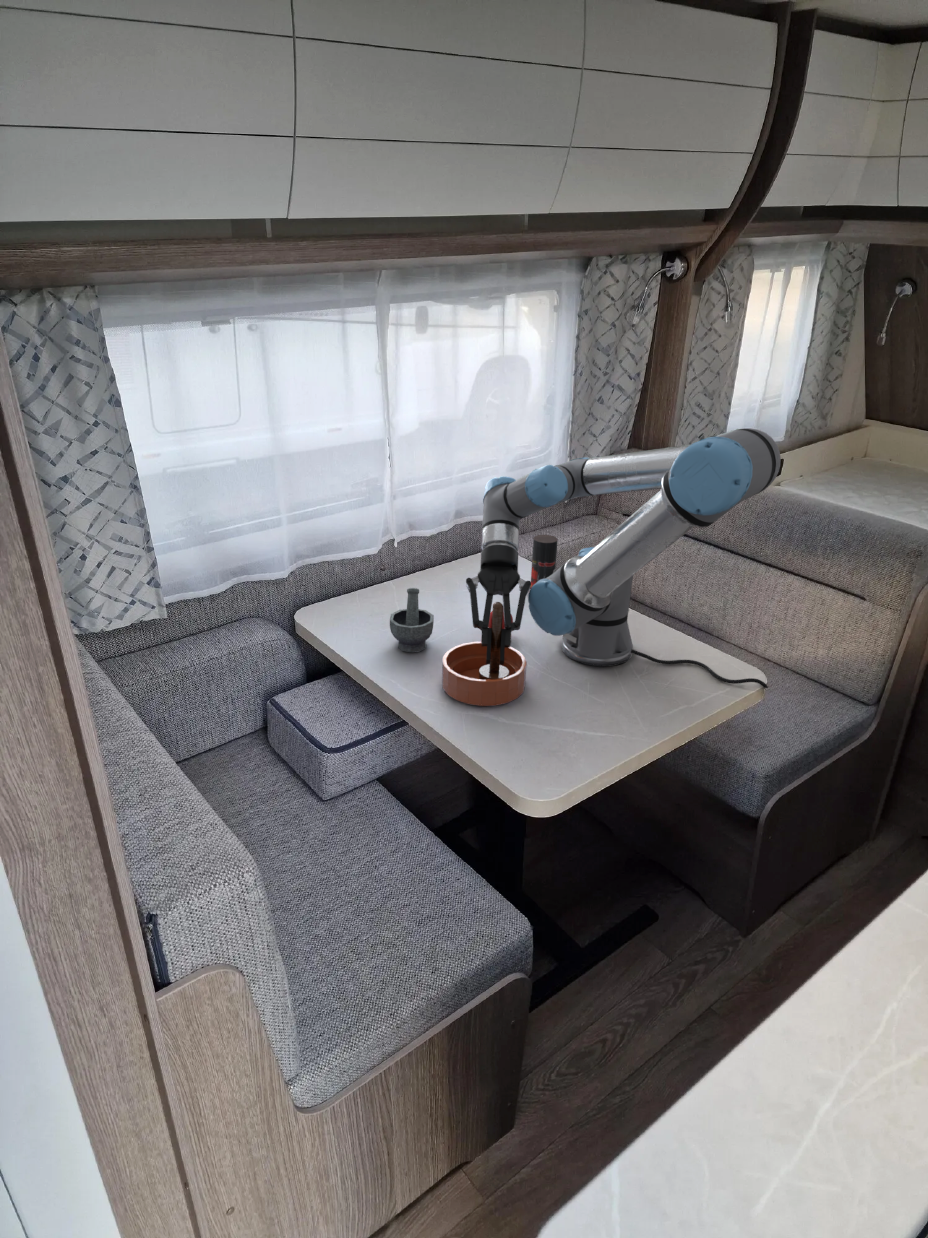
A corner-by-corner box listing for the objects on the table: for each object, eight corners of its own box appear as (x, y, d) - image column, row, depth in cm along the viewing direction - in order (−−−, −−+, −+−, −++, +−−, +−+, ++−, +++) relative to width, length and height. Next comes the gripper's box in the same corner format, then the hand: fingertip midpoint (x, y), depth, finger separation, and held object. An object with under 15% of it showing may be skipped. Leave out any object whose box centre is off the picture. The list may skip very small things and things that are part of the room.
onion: (491, 629, 188) (492, 597, 185) (515, 633, 187) (517, 601, 183) (483, 639, 183) (484, 607, 180) (508, 644, 182) (509, 611, 178)
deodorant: (553, 599, 204) (558, 543, 198) (529, 598, 204) (533, 542, 198) (553, 590, 209) (557, 535, 203) (529, 589, 210) (533, 534, 203)
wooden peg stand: (510, 674, 165) (516, 598, 158) (506, 689, 160) (511, 610, 153) (481, 670, 166) (485, 594, 159) (476, 685, 161) (479, 606, 154)
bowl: (530, 672, 170) (532, 647, 168) (517, 713, 156) (518, 686, 153) (453, 662, 174) (453, 637, 171) (433, 702, 159) (433, 675, 156)
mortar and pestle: (432, 656, 176) (432, 606, 170) (388, 655, 175) (387, 605, 170) (434, 633, 186) (434, 585, 181) (393, 632, 186) (392, 584, 180)
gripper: (535, 560, 168) (532, 670, 160) (462, 556, 168) (456, 666, 161) (538, 544, 161) (535, 658, 153) (462, 541, 161) (455, 654, 153)
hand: (495, 662), depth 157 cm, fingers closed on wooden peg stand, 2 cm apart
